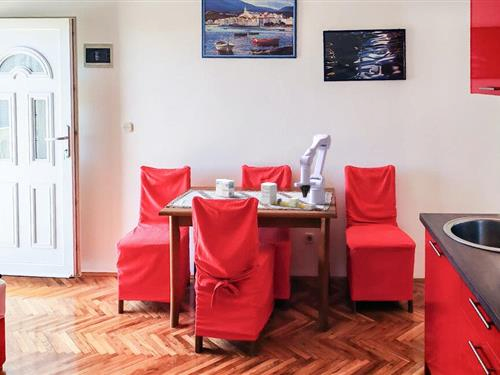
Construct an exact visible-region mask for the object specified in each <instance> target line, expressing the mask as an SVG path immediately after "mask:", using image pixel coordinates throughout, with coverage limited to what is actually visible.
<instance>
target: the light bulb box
mask: <svg viewBox="0 0 500 375" xmlns="http://www.w3.org/2000/svg"><path fill="white" fill-rule="evenodd" d="M215 196H216V197H222V198H231V197H234V196H235V180H234V179H224V178H221V179H215Z"/></svg>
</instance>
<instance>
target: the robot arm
mask: <svg viewBox="0 0 500 375" xmlns="http://www.w3.org/2000/svg"><path fill="white" fill-rule="evenodd" d="M331 143H332V137H331V135H330V134H319V133H315V134H314V136H313V142H312V145H311V147H309V148H308V149H307V150H306V151H305V153H304V155H301V156H300V158H299V165H300V182H294V187H296V188H297V187H299V188H300V190H301V194H302V198H304V199H305V198H307V197H308V193H309V201H307V202H306V204H307V203H315V204H316V206H317V205H326V204H327V203H326V200H327V199H326V196H327V195H326V194H327V193H326V191H325V186H326V178H325V176H323V171H324V166H325V161H326V157H327V152H328V150H329V149H330V147H331ZM317 150H318V154H317ZM316 154H317V157H316ZM315 157H316V163H315V167H314V173H312V174H311V172H312V171H311V170H312V169H311V166H312V165H313V163H314V162H313V161H314V158H315Z"/></svg>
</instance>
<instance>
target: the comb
mask: <svg viewBox="0 0 500 375" xmlns="http://www.w3.org/2000/svg"><path fill="white" fill-rule="evenodd" d="M305 204H306V205H305V208H304V210H313V209H316V207H317V205H316V204H315V203H308V204H307V203H305Z"/></svg>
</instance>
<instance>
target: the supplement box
mask: <svg viewBox="0 0 500 375" xmlns="http://www.w3.org/2000/svg"><path fill="white" fill-rule="evenodd" d="M277 193H278V184H277V183H273V182H264V183H261V184H260V204H263V205H269V206H271V205H275V204H274V201H277Z"/></svg>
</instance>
